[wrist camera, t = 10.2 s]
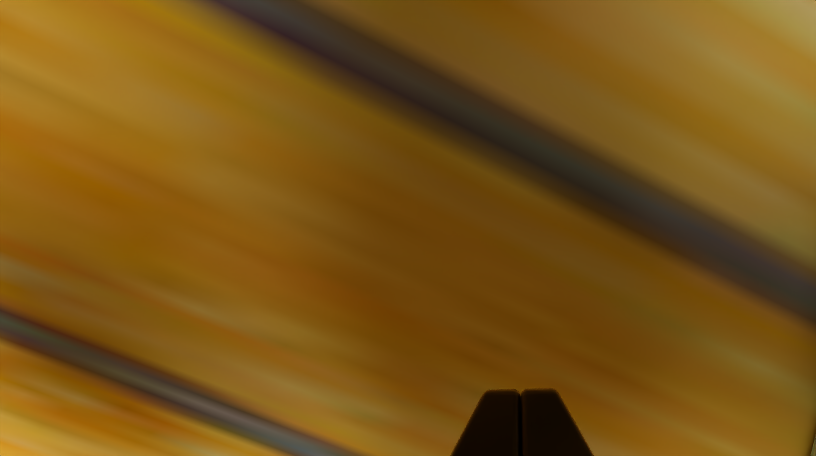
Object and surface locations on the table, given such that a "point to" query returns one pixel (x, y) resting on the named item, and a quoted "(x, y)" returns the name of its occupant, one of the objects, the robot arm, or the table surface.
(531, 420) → the robot arm
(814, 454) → the board
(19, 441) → the table surface
